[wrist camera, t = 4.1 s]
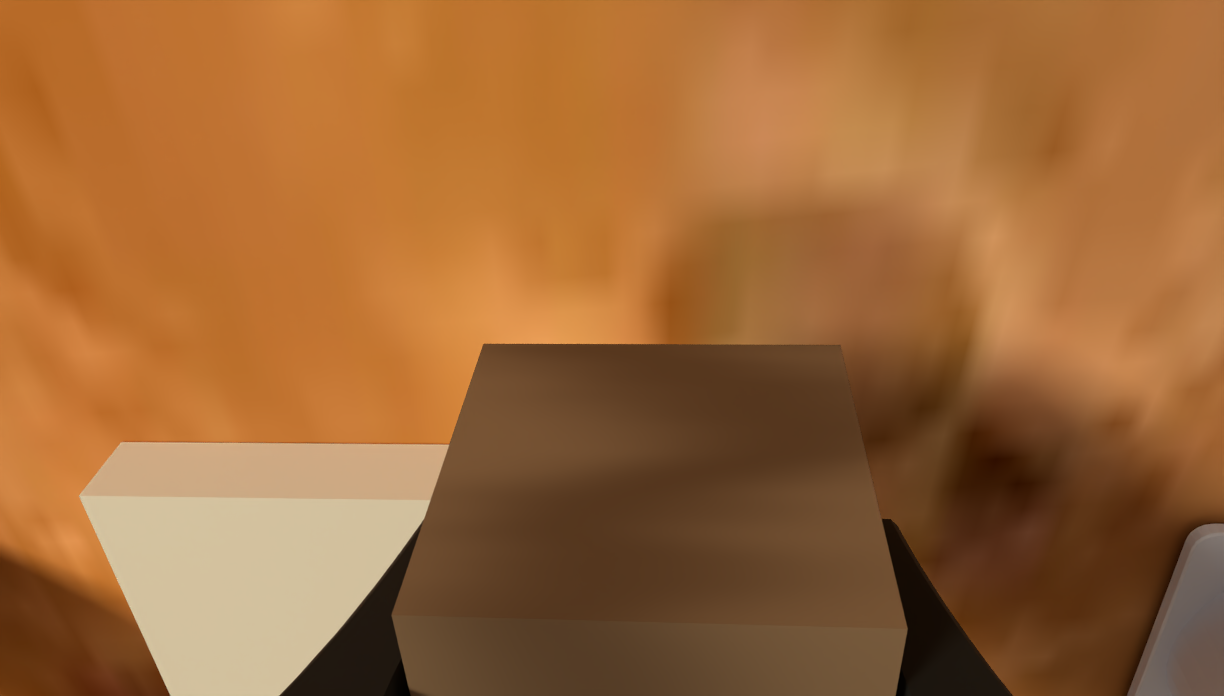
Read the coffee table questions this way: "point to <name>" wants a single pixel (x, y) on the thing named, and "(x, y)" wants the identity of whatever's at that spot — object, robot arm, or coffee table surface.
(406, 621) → the walnut block
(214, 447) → the base board
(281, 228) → the coffee table surface
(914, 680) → the robot arm
